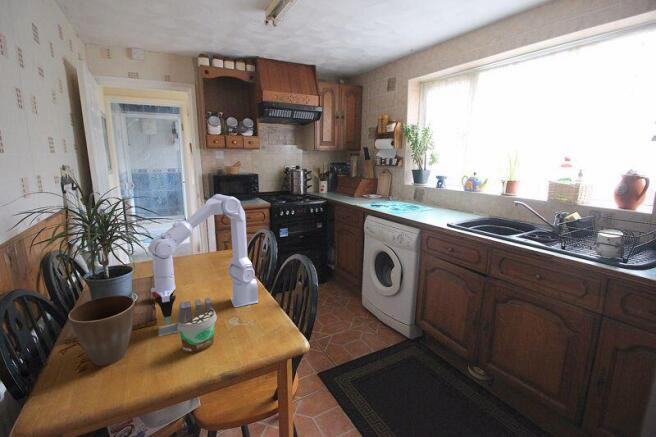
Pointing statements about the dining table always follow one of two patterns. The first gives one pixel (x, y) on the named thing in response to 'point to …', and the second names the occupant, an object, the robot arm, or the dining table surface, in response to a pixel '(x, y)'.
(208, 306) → the domino
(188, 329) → the food container
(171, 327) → the coaster
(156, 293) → the onion
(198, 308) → the domino
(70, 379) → the dining table surface
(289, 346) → the dining table surface
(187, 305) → the domino
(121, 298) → the plant pot
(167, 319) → the domino
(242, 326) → the dining table surface
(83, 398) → the dining table surface
